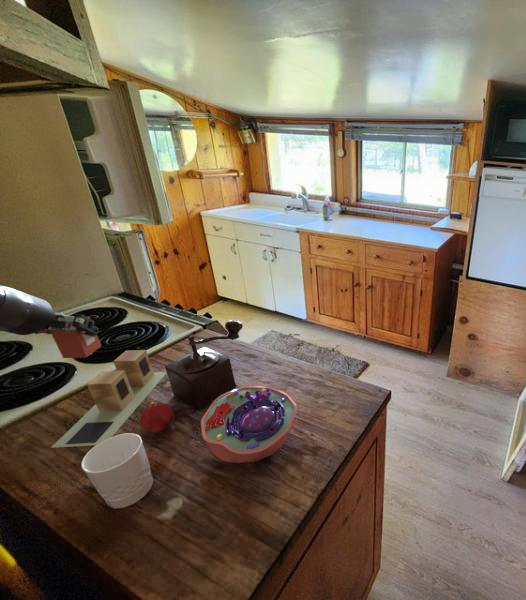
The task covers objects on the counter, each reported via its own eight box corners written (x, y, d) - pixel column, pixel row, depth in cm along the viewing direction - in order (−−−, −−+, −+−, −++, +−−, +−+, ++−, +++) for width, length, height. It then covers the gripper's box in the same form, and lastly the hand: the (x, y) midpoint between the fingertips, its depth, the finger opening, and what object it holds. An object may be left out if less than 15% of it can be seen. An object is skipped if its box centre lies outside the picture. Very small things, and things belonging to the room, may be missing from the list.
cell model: (267, 400, 81) (261, 363, 76) (316, 445, 69) (312, 405, 64) (193, 441, 69) (180, 400, 64) (236, 503, 57) (225, 459, 53)
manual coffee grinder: (200, 413, 76) (181, 349, 68) (172, 396, 80) (152, 334, 73) (255, 377, 88) (245, 319, 81) (229, 364, 93) (216, 308, 85)
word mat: (51, 449, 66) (50, 447, 66) (127, 374, 87) (127, 372, 87) (105, 446, 67) (104, 444, 67) (167, 373, 88) (167, 371, 88)
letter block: (63, 358, 73) (48, 327, 70) (79, 346, 78) (66, 317, 74) (87, 357, 74) (73, 327, 70) (102, 345, 78) (90, 316, 75)
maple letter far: (123, 387, 82) (113, 361, 79) (135, 375, 86) (125, 350, 83) (144, 386, 83) (135, 360, 79) (155, 374, 87) (146, 349, 84)
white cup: (98, 521, 54) (75, 481, 50) (106, 483, 60) (86, 444, 56) (156, 497, 58) (139, 459, 53) (158, 464, 64) (143, 426, 59)
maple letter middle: (99, 412, 74) (86, 384, 71) (113, 397, 79) (102, 370, 75) (122, 411, 75) (111, 383, 72) (135, 396, 79) (125, 370, 76)
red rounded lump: (138, 437, 69) (126, 409, 66) (162, 418, 74) (152, 390, 71) (161, 443, 68) (150, 415, 65) (183, 423, 73) (174, 395, 70)
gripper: (57, 290, 62) (120, 316, 78) (-29, 291, 60) (53, 317, 76) (45, 328, 59) (112, 347, 75) (-45, 330, 58) (43, 349, 74)
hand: (82, 332), depth 76 cm, fingers closed on letter block, 5 cm apart
